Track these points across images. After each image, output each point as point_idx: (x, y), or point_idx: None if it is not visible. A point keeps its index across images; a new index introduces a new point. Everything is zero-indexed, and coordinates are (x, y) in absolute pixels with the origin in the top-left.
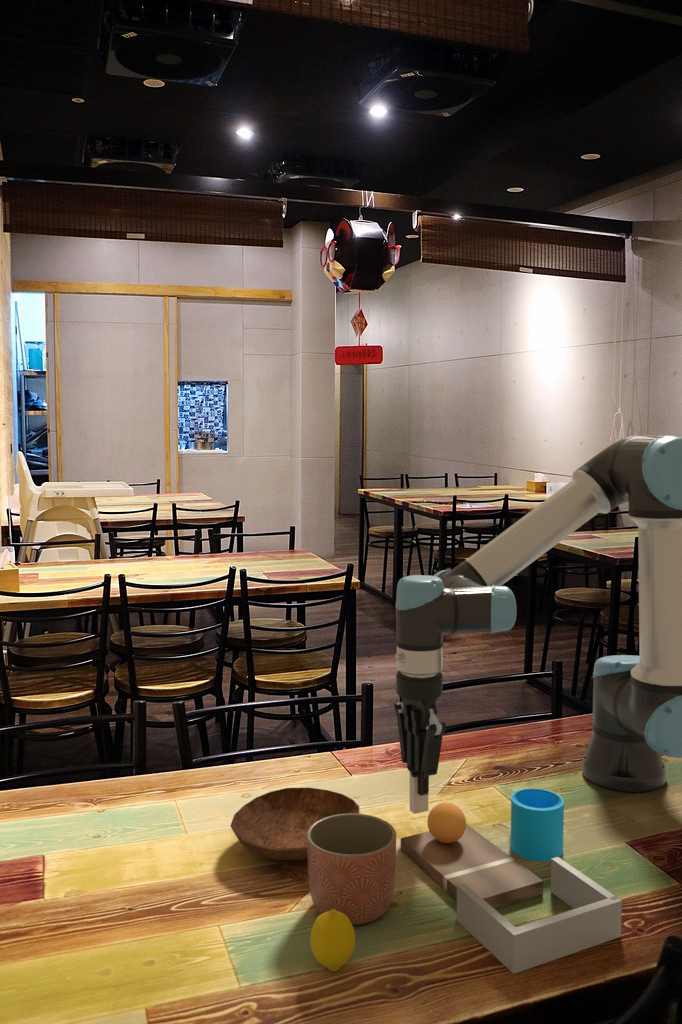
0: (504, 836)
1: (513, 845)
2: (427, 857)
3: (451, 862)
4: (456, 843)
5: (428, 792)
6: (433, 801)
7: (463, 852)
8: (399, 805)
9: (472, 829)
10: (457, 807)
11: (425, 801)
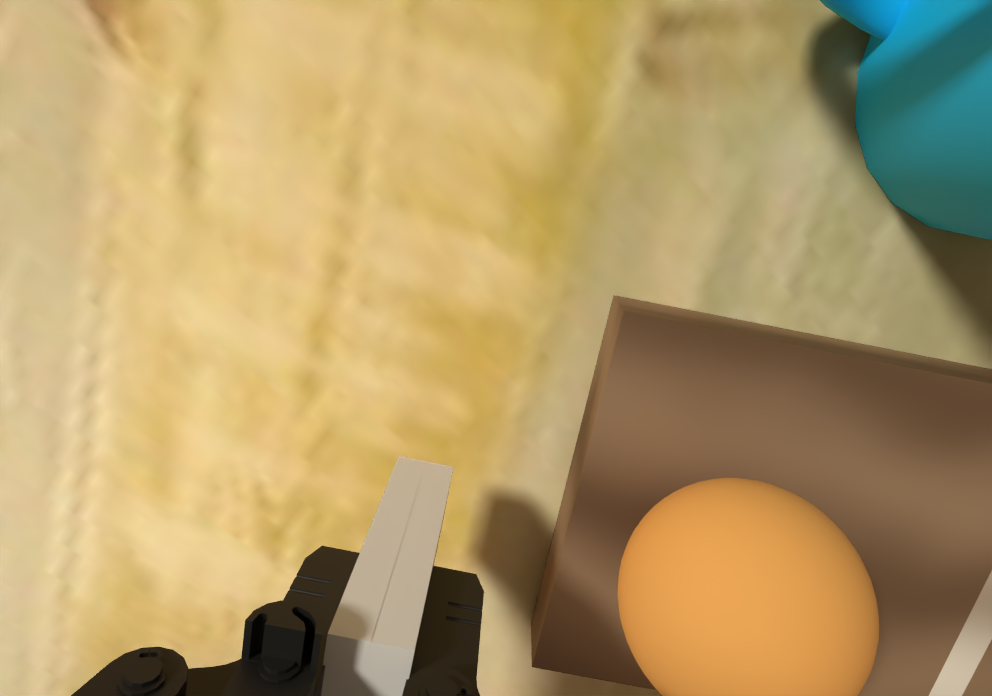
0: (787, 127)
1: (956, 231)
2: None
3: None
4: None
5: (480, 584)
6: (190, 143)
7: None
8: (140, 340)
9: (718, 338)
10: (835, 629)
11: (442, 520)
